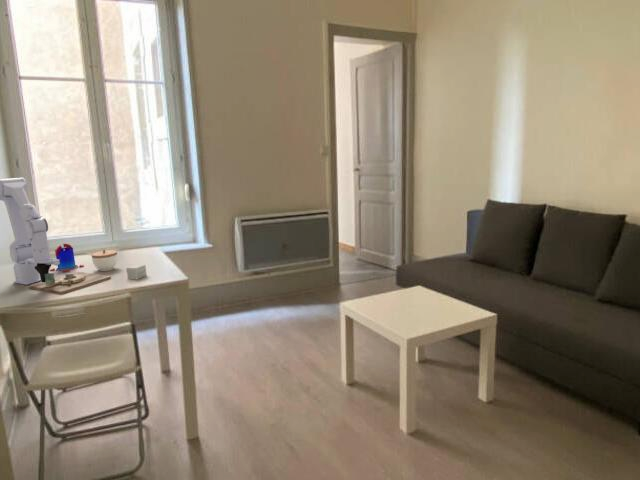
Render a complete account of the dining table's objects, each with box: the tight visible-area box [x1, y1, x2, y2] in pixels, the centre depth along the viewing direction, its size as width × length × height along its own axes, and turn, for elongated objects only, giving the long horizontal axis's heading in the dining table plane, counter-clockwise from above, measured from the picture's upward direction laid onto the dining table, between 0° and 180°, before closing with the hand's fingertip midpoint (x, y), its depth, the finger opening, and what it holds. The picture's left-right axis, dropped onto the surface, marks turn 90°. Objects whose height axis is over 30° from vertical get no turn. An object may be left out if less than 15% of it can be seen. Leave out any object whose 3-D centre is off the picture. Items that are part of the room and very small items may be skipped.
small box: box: [125, 264, 148, 280], centre depth 196 cm, size 6×6×5 cm
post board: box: [27, 271, 112, 295], centre depth 191 cm, size 22×22×4 cm
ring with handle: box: [44, 272, 86, 287], centre depth 189 cm, size 15×11×5 cm
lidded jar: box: [90, 249, 118, 272], centre depth 211 cm, size 11×11×9 cm
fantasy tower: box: [49, 243, 85, 274], centre depth 215 cm, size 12×12×12 cm
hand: (45, 281), depth 185 cm, fingers closed, pressing on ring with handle
